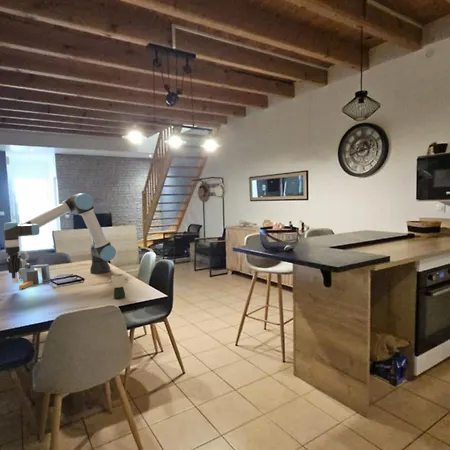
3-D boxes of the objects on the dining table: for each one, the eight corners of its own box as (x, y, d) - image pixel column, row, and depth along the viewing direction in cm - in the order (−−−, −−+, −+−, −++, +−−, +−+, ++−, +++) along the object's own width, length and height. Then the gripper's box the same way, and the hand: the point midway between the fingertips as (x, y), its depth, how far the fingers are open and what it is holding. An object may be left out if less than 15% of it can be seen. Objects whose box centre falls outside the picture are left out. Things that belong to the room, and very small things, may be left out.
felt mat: (72, 274, 254) (72, 273, 254) (64, 278, 239) (64, 278, 239) (59, 274, 253) (59, 274, 253) (50, 279, 239) (50, 279, 238)
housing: (50, 279, 238) (48, 262, 237) (47, 281, 234) (45, 263, 233) (26, 281, 237) (24, 263, 236) (23, 282, 233) (21, 264, 232)
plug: (25, 288, 214) (23, 275, 213) (17, 289, 214) (16, 276, 213) (38, 282, 231) (37, 270, 230) (31, 282, 231) (30, 270, 230)
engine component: (27, 278, 246) (36, 275, 256) (25, 251, 245) (34, 249, 255) (14, 278, 248) (23, 275, 257) (11, 252, 246) (21, 250, 256)
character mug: (127, 294, 189) (126, 272, 188) (130, 297, 183) (129, 274, 182) (108, 298, 183) (106, 275, 182) (111, 301, 177) (109, 277, 176)
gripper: (12, 245, 213) (15, 280, 215) (-1, 248, 200) (2, 285, 202) (24, 244, 213) (27, 279, 215) (12, 247, 200) (15, 284, 202)
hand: (15, 282), depth 208 cm, fingers closed
